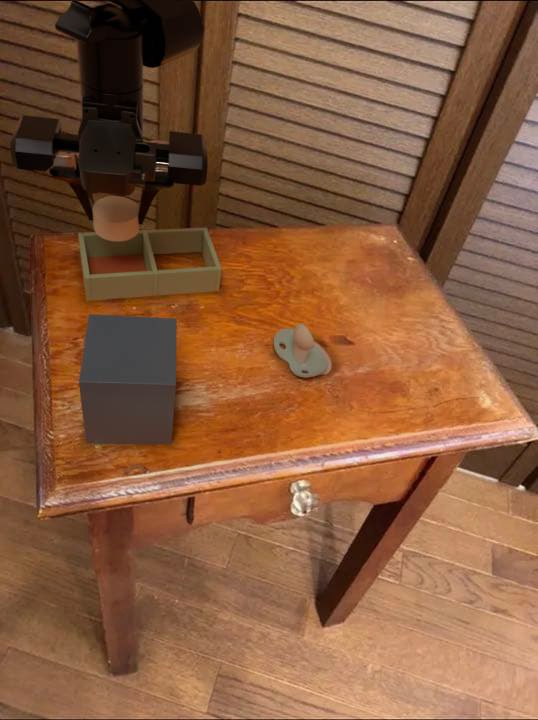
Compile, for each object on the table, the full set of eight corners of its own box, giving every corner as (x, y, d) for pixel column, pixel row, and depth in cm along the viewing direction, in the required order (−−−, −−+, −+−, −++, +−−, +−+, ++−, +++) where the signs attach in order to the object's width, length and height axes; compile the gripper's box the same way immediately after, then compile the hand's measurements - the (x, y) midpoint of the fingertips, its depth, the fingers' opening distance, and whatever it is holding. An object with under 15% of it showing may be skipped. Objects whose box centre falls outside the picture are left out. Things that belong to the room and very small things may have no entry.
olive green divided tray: (87, 304, 68) (84, 278, 65) (80, 259, 73) (77, 232, 70) (218, 294, 73) (222, 269, 70) (204, 252, 78) (206, 227, 75)
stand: (86, 447, 56) (78, 381, 49) (94, 382, 61) (88, 313, 54) (171, 448, 58) (176, 384, 50) (172, 384, 63) (176, 318, 55)
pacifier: (304, 333, 71) (264, 348, 68) (316, 294, 67) (275, 309, 64) (341, 374, 68) (301, 392, 65) (357, 337, 64) (315, 354, 60)
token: (91, 239, 64) (90, 220, 62) (95, 212, 68) (94, 194, 66) (138, 243, 65) (138, 224, 63) (140, 216, 68) (140, 197, 67)
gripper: (-17, 109, 47) (13, 261, 59) (215, 135, 51) (201, 273, 62) (10, 52, 54) (32, 197, 66) (211, 77, 58) (199, 211, 69)
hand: (116, 220), depth 66 cm, fingers closed on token, 5 cm apart
